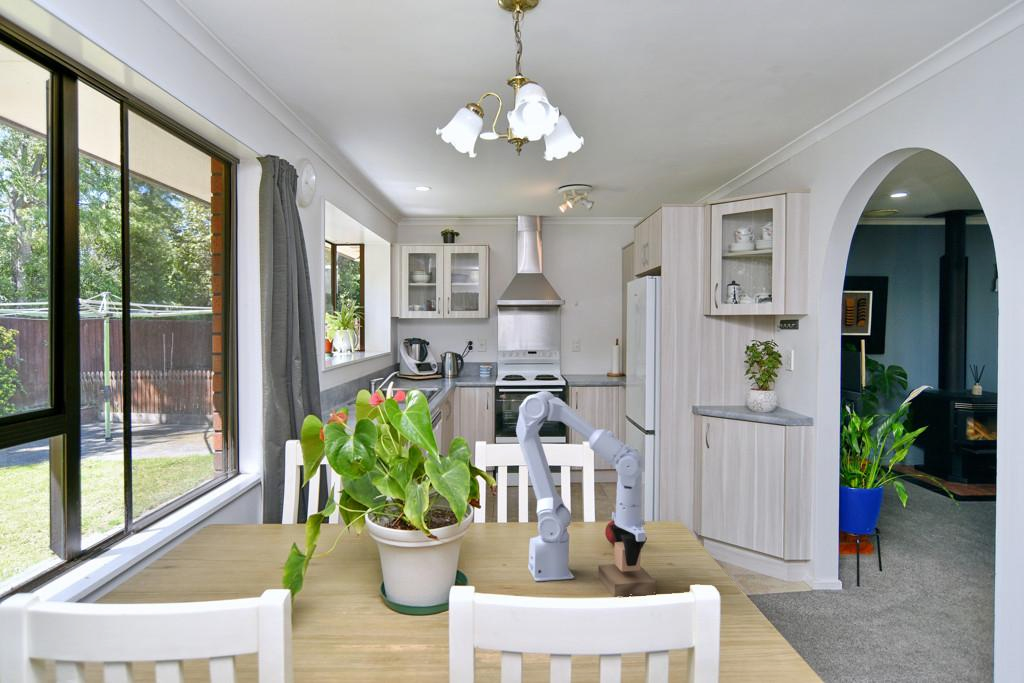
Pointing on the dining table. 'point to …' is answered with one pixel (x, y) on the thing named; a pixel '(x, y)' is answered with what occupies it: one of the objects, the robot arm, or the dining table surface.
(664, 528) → the dining table surface
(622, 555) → the terracotta cube
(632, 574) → the walnut base
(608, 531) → the onion
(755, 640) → the dining table surface
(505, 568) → the dining table surface
